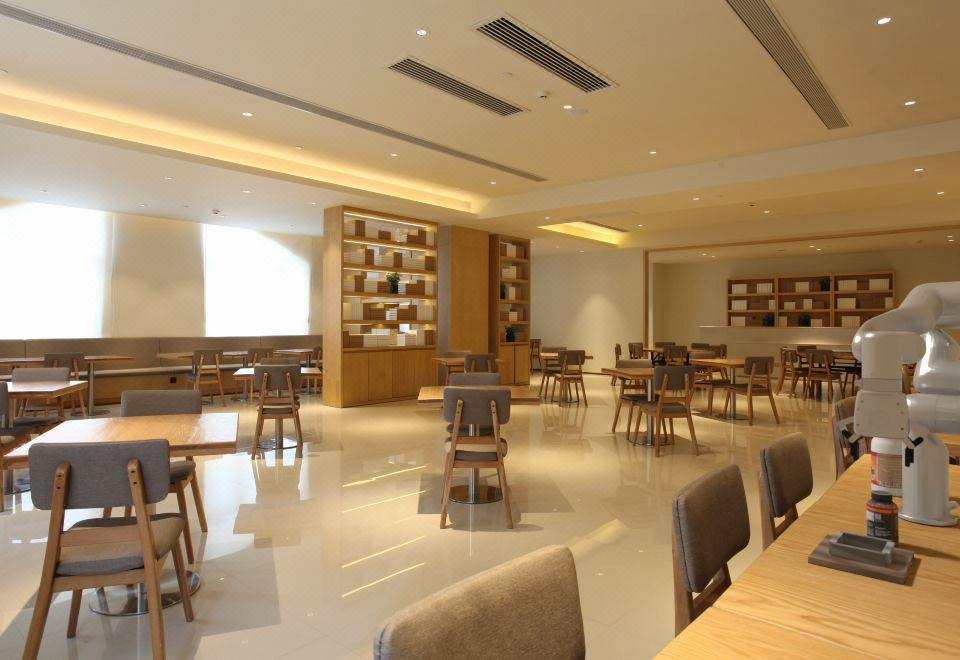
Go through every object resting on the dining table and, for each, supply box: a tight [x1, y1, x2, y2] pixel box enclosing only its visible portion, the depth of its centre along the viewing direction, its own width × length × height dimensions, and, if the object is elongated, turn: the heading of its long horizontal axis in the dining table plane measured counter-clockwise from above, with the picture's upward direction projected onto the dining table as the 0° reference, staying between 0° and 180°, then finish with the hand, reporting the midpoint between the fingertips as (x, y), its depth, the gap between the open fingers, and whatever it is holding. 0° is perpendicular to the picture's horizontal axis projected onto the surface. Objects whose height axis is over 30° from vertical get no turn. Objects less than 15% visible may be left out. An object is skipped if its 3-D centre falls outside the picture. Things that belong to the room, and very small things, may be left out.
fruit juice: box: [870, 437, 902, 497], centre depth 174 cm, size 9×9×28 cm
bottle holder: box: [807, 530, 915, 585], centre depth 123 cm, size 18×16×4 cm
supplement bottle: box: [865, 490, 900, 547], centre depth 133 cm, size 6×6×11 cm
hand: (881, 462), depth 133 cm, fingers open, 9 cm apart
